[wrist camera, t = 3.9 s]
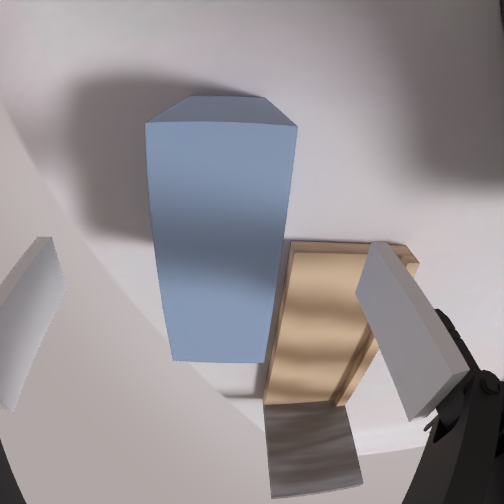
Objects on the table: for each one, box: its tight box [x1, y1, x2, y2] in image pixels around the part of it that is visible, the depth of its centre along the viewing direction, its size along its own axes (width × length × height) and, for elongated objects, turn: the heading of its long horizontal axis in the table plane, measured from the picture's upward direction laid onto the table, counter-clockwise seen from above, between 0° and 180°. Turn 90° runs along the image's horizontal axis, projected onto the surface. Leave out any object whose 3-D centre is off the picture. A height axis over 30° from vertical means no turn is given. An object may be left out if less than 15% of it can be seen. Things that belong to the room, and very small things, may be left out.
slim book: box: [145, 95, 298, 363], centre depth 15 cm, size 11×4×10 cm, turn 176°
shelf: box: [263, 241, 420, 499], centre depth 24 cm, size 23×10×14 cm, turn 176°
